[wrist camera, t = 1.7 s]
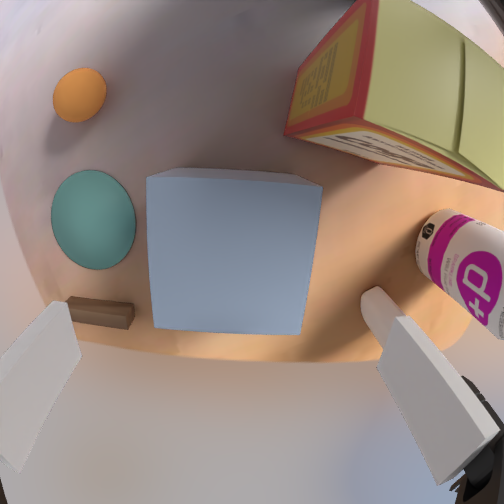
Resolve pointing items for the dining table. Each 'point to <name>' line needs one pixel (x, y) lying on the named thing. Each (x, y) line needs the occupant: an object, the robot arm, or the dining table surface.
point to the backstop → (101, 312)
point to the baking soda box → (403, 94)
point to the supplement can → (465, 264)
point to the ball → (79, 95)
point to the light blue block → (230, 249)
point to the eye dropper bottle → (379, 313)
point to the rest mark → (93, 219)
